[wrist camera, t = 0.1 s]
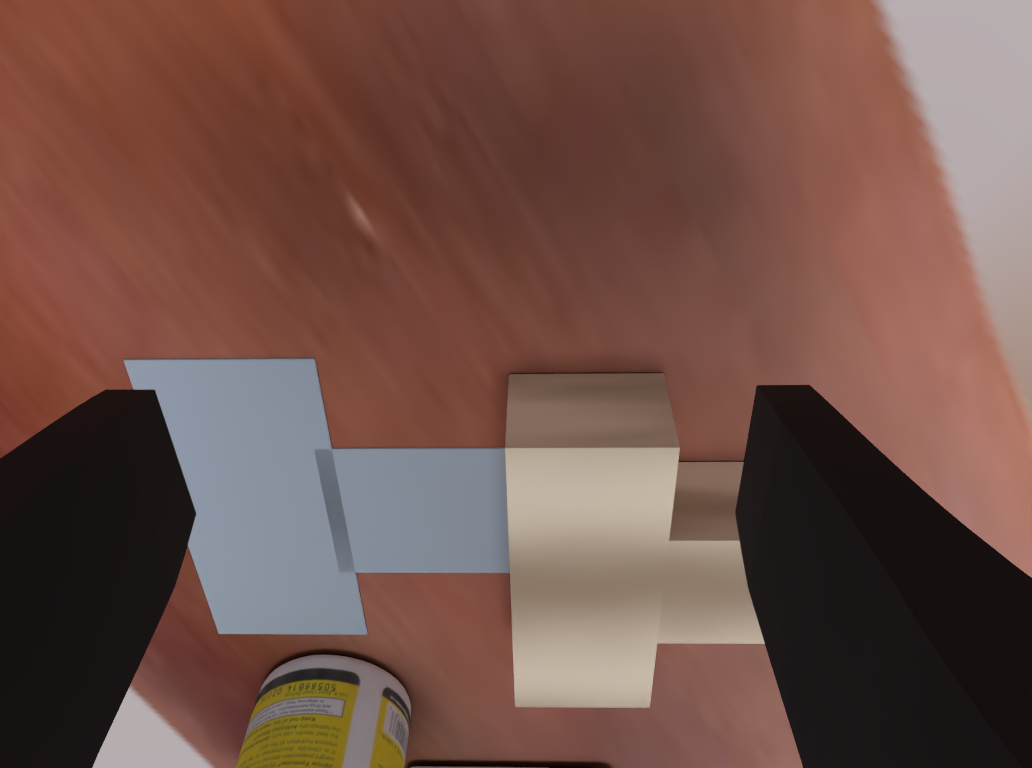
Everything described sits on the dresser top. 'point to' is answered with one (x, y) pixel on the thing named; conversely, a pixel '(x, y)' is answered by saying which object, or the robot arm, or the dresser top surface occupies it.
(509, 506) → the maple t block
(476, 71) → the dresser top surface
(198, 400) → the slate t outline
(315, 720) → the supplement bottle
